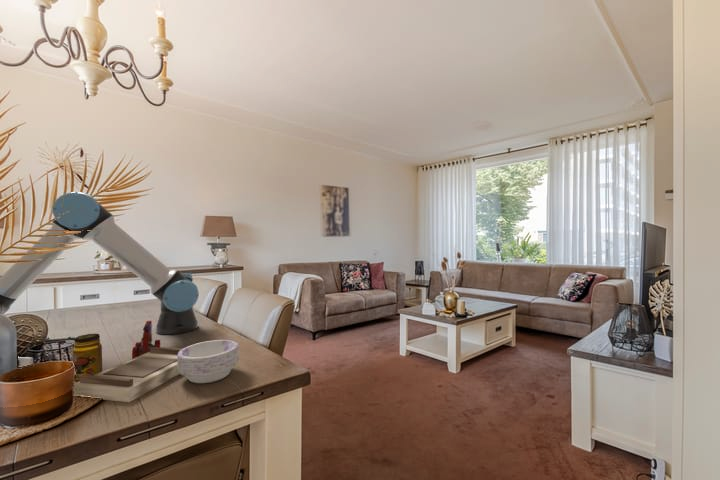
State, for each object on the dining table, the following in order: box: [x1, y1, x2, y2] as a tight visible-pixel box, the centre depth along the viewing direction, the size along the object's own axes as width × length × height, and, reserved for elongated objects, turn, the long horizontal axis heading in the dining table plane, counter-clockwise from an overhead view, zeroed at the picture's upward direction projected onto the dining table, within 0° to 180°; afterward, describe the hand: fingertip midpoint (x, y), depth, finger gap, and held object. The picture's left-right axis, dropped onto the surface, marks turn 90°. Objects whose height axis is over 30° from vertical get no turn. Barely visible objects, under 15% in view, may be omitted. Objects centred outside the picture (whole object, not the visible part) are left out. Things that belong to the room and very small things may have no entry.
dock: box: [74, 346, 183, 403], centre depth 91 cm, size 24×16×4 cm, turn 169°
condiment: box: [72, 333, 106, 382], centre depth 90 cm, size 7×8×12 cm
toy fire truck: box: [131, 320, 161, 359], centre depth 108 cm, size 7×12×10 cm, turn 26°
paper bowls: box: [177, 339, 240, 384], centre depth 91 cm, size 15×15×8 cm
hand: (60, 354), depth 92 cm, fingers open, 13 cm apart
